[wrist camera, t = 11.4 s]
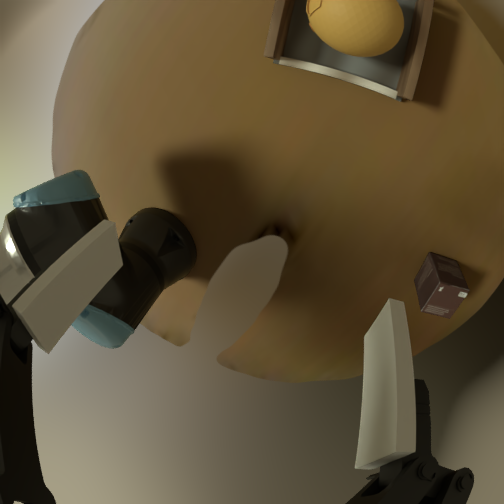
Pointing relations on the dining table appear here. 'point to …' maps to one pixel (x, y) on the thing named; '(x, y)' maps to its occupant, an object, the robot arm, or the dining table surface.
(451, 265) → the box
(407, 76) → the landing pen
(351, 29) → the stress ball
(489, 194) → the dining table surface
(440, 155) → the dining table surface
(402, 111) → the dining table surface
